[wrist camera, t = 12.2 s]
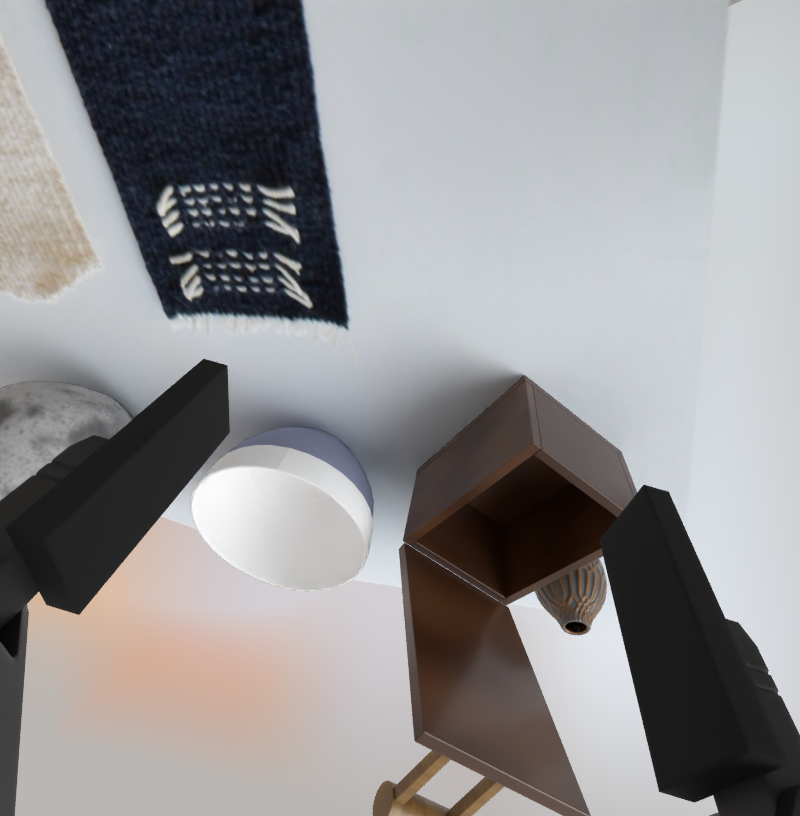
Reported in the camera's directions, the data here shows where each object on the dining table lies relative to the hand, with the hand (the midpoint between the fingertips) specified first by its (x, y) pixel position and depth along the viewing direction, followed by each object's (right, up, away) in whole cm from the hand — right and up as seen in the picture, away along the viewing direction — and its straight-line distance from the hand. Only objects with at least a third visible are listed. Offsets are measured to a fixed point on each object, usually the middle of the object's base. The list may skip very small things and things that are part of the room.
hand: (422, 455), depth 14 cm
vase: (+17, -13, +32) cm, 38 cm away
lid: (+5, -15, +16) cm, 22 cm away
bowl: (-10, -4, +31) cm, 33 cm away
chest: (+10, -4, +27) cm, 29 cm away
